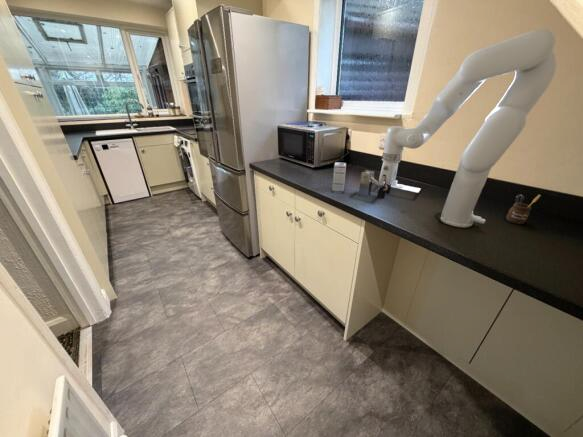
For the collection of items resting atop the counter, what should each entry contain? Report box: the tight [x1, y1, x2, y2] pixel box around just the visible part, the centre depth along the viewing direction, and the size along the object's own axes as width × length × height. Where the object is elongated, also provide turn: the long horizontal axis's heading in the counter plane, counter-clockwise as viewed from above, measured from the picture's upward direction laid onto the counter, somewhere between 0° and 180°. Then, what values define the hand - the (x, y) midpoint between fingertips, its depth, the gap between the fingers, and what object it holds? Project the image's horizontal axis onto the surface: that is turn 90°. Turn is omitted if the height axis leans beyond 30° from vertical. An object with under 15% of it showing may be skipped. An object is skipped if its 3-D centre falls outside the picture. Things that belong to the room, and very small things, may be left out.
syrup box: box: [332, 161, 347, 192], centre depth 118 cm, size 6×6×14 cm
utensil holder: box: [505, 194, 542, 225], centre depth 92 cm, size 6×6×12 cm
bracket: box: [357, 169, 376, 198], centre depth 112 cm, size 11×9×13 cm
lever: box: [366, 172, 388, 190], centre depth 108 cm, size 12×5×2 cm, turn 53°
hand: (383, 195), depth 108 cm, fingers open, 6 cm apart
